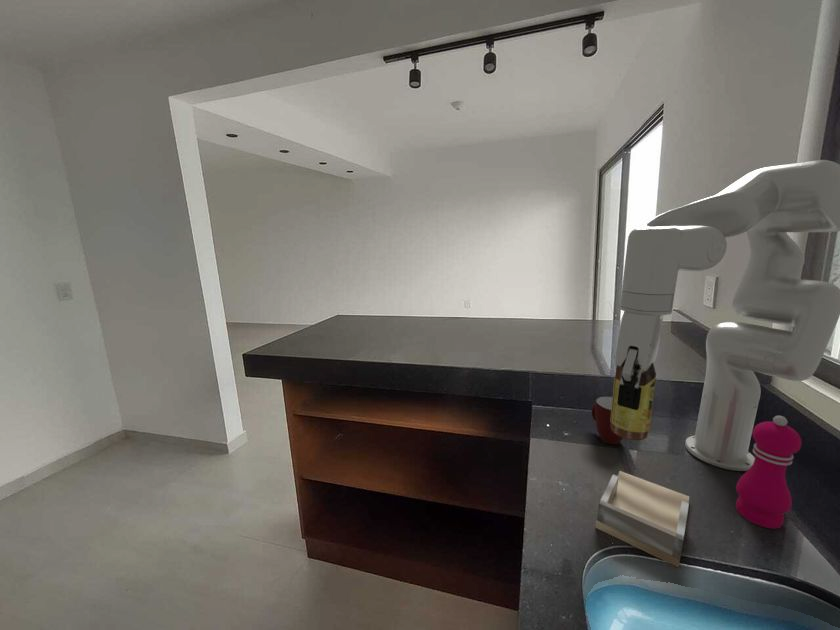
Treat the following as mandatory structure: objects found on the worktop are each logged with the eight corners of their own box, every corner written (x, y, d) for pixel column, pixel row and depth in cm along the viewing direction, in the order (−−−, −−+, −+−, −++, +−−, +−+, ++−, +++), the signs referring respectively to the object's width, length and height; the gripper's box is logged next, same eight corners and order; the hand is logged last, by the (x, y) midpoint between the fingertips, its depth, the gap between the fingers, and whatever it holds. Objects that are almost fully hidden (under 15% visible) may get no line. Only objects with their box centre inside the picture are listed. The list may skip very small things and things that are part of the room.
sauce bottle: (653, 444, 61) (670, 334, 57) (614, 440, 63) (627, 332, 58) (640, 425, 67) (654, 324, 63) (604, 421, 69) (616, 322, 64)
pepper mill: (792, 538, 60) (820, 432, 56) (736, 520, 64) (758, 420, 59) (778, 510, 66) (803, 412, 62) (728, 496, 70) (748, 402, 65)
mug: (577, 430, 93) (580, 395, 91) (600, 424, 96) (603, 390, 94) (611, 452, 84) (616, 414, 82) (635, 445, 87) (641, 407, 85)
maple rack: (619, 475, 76) (621, 456, 75) (688, 502, 68) (692, 480, 67) (595, 527, 63) (598, 504, 62) (678, 567, 55) (683, 542, 54)
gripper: (633, 293, 68) (622, 380, 72) (606, 307, 56) (594, 410, 60) (680, 298, 63) (666, 391, 67) (662, 313, 51) (646, 426, 55)
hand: (632, 399), depth 64 cm, fingers closed on sauce bottle, 6 cm apart
